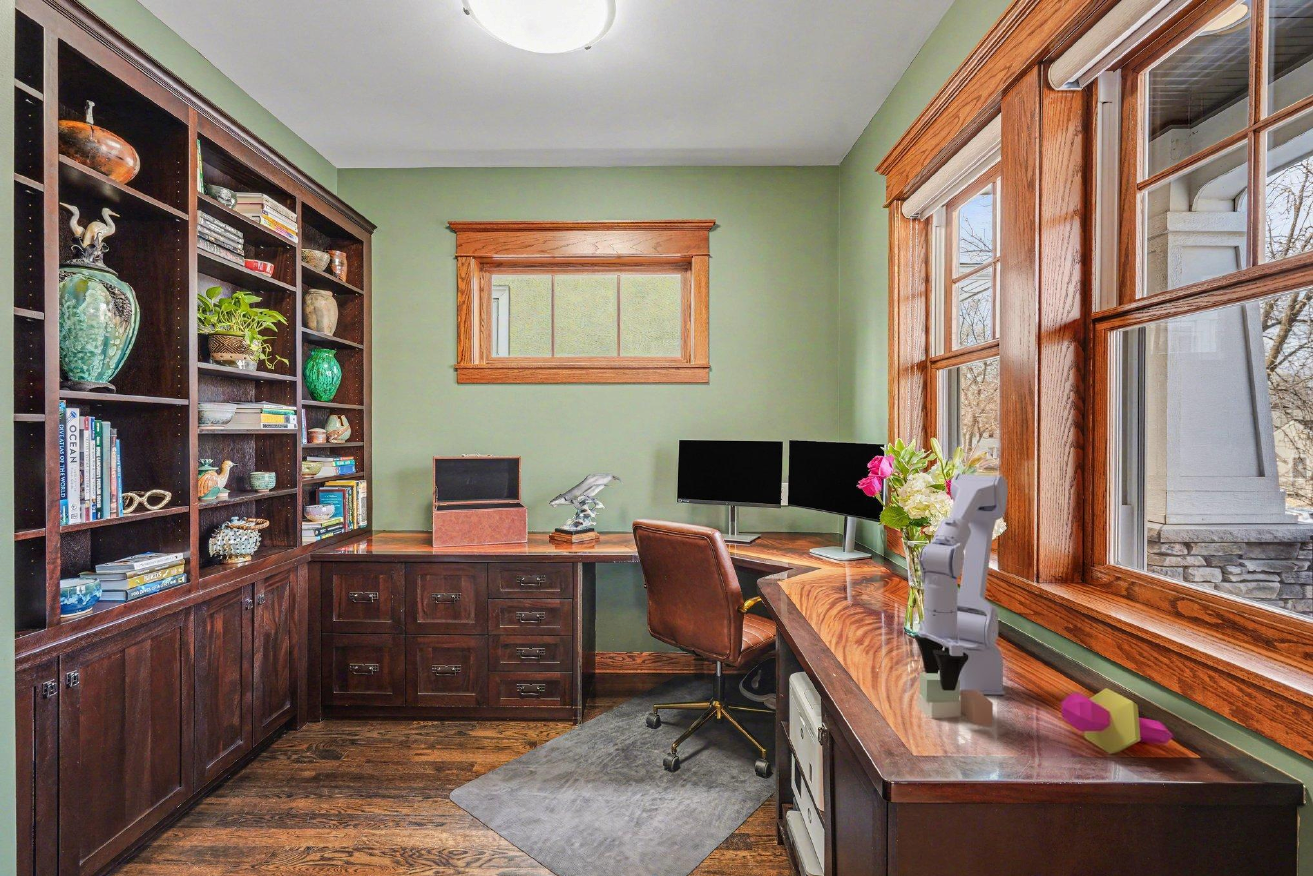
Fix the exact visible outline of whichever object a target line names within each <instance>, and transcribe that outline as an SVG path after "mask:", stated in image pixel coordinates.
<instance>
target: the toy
mask: <svg viewBox="0 0 1313 876" xmlns="http://www.w3.org/2000/svg"><path fill="white" fill-rule="evenodd" d="M1060 703H1061V704H1060V708H1061V714H1060V715H1061V717H1062V718H1063V719H1064V720H1065V721H1066V722H1068V723H1069V724H1070V725H1072V727H1074V728H1075V729H1076V730H1077V731H1079V732H1084V738H1085V739H1086V740H1087V741H1089V742H1091V743H1092V744H1094V745H1095V746H1097V747H1099V748H1100V749H1101V750H1104V751H1105V752H1106V753H1108V754H1109V755H1112V754H1118V753H1120V752H1122V751H1123V750H1124V749H1126V748H1128V747H1132V746H1133V745H1135V744H1136V743H1138V742H1142V743H1146V744H1162V745H1163V744H1164V745H1166V744H1167V743H1168V742H1170V741H1171V739H1172V738H1173V737H1174V735H1173V734H1172V733H1171V732H1170V730H1169V729H1168V728H1167V727H1166V725H1164V723H1162V722H1160V721H1159V720H1156V719H1155V720H1153V719H1149V718H1148V719H1147V718H1143V717H1139V716H1140V715H1139V705H1138V704H1137V703H1135V702H1134V701H1133V700H1131V699H1128V698H1127V697H1125V696H1123V695H1122V694H1119V693H1117V692H1114V691H1113V690H1111V689H1109V688H1107V687H1106V688H1104V689H1102V690H1100V691H1099V692H1098V693H1096V694H1094V695H1093V696H1091V697H1090V698H1089V697H1086V696H1085V695H1083V694H1081V693H1079V692H1074V693H1071V694H1069V695H1068V696H1067V697H1065V698H1064V699H1063V700H1062V701H1060Z"/></svg>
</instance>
